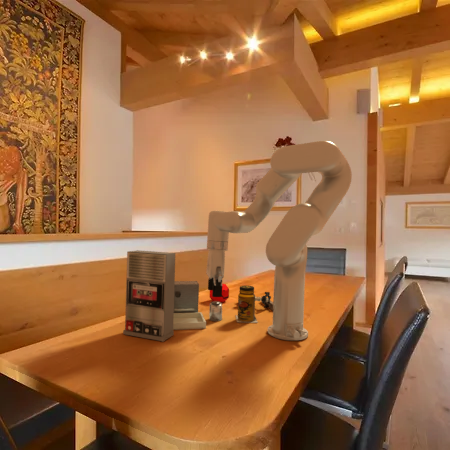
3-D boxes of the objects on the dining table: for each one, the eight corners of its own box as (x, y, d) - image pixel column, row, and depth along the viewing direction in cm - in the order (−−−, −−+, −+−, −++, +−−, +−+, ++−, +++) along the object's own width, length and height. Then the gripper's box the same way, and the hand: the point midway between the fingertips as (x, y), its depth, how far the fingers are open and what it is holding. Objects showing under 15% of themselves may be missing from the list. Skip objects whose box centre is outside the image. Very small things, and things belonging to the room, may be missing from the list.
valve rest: (276, 310, 124) (276, 304, 124) (247, 311, 122) (247, 305, 122) (264, 301, 138) (264, 296, 138) (238, 302, 135) (238, 296, 135)
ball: (219, 304, 131) (220, 286, 131) (206, 301, 136) (206, 283, 136) (231, 301, 137) (232, 284, 137) (218, 298, 142) (218, 281, 142)
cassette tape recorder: (122, 335, 93) (125, 251, 93) (135, 328, 99) (137, 250, 98) (162, 342, 88) (165, 254, 88) (173, 335, 94) (176, 253, 94)
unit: (198, 317, 112) (199, 284, 112) (170, 318, 110) (171, 284, 110) (195, 312, 119) (196, 280, 119) (169, 313, 116) (170, 281, 116)
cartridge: (224, 320, 110) (224, 303, 109) (212, 322, 108) (212, 305, 108) (218, 316, 114) (219, 300, 113) (207, 317, 112) (207, 301, 112)
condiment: (237, 322, 108) (238, 288, 108) (235, 315, 116) (236, 283, 116) (257, 323, 108) (258, 288, 108) (254, 315, 117) (255, 284, 116)
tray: (205, 328, 101) (206, 322, 101) (171, 329, 99) (171, 323, 99) (201, 317, 112) (201, 312, 112) (169, 318, 110) (169, 313, 110)
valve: (239, 307, 130) (265, 310, 124) (237, 292, 129) (263, 295, 123) (246, 301, 136) (271, 304, 129) (244, 287, 135) (270, 289, 128)
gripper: (203, 243, 118) (200, 287, 119) (211, 247, 102) (207, 299, 102) (222, 243, 120) (220, 287, 120) (233, 248, 103) (230, 299, 104)
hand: (214, 293), depth 111 cm, fingers open, 9 cm apart
